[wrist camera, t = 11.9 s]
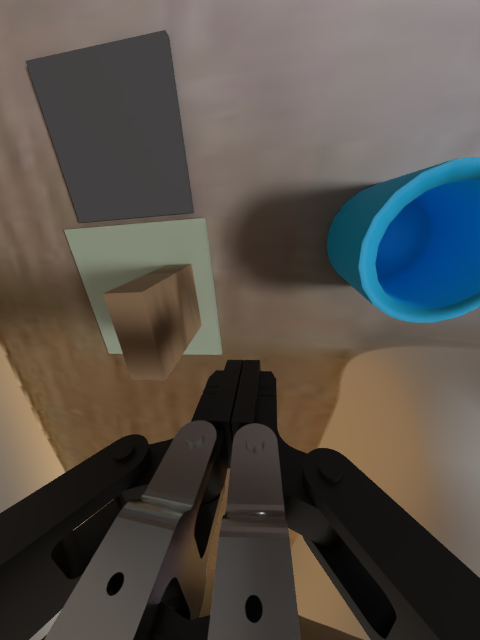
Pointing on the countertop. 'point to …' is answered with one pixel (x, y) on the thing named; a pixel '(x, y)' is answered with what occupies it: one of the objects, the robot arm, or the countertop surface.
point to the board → (146, 269)
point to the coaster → (116, 127)
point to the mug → (414, 242)
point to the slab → (155, 319)
